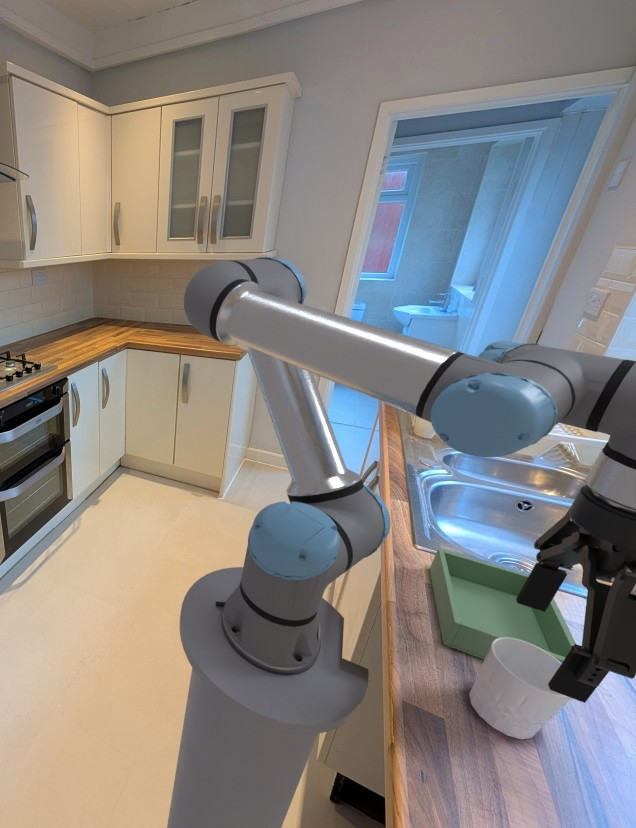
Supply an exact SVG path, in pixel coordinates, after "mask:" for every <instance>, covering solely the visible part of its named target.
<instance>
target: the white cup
mask: <svg viewBox="0 0 636 828" xmlns="http://www.w3.org/2000/svg"><path fill="white" fill-rule="evenodd" d="M482 660H483V661H482V662H481V664H480V667H479V670H478V671H477V674H476V677H475V681H474V683H473V685H472V687H471V690H470V692H469V693H468V696H469V701H470V704H471V707H472V708H473V709H474V710H475V712H476V713H477V714H478V716H479V717H480V718H481V719H483V721H485V722H486V724H487V725H489V726H491V728H493V729H495V730H496V731H498V732H500V733H501V734H504V735H505V736H506V737H507V736H508V737H511V738H514V739H519V740H527V739H531V738H533V737H534V736H535V735H536V734H537V733H538V732H539V730H541V728H543V727H545V726H546V725H547V724H548V723H549V722H551V720H552V719H553V718H555V716H556V715H557V714H558V713H559V712H560V711H561V710H562V709H563V708H564V706H565V705H566V704H567V703H568V702H569V701H570V700H571V699H572V698H571V697H568V696H565V695H563V694H560V693H557V692H555V691H552V690H550V688H549V685H548V683H549V682H550V680H551V679H552V677H553V676H554V674H555V673H556V671H557V670H558V668H559V667H560V665H561V664H562V663H561V662H560V661H559V660H557V659H556V658H555V657H553V656H552V655H551V654H549V653H548V652H546V651H544V650H543V649H541V648H539V647H537V646H535V645H533V644H531V643H528V642H526V641H523V640H520V639H516V638H511V637H500V638H497V639H495V640H494V641H493V642H492V644H491V646H490V648H489V650H488V652H487V654H486V656H485V658H484V659H482Z"/></svg>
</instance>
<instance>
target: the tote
mask: <svg viewBox="0 0 636 828" xmlns="http://www.w3.org/2000/svg"><path fill="white" fill-rule="evenodd" d="M428 570H429V574H430V580H431V585H432V586H431V587H432V589H433V596H434V602H435V608H436V611H437V612H436V613H437V618H438V623H439V630H440V635H441V640H442V644H443V646H446V647H449V648H452V649H454V650H457V651H460V652H462V653H465V654H468V655H470V656H473V657H476V658H478V659H481V660H484V658H485V656H486V654H487V652H488V650H489V648H490V646H491V644H492V642H493V641H494V640H495V639H497V638H500V637H511V638H516V639H520V640H523V641H526V642H528V643H531V644H533V645H535V646H537V647H539V648H541V649H543V650H544V651H546V652H548V653H549V654H551V655H552V656H553V657H555V658H556V659H557V660H559V661H560V662H561V663H562V662H563V661H564V659H565V658H566V656H567V655H568V653H569V652H570V650H571V646H574V645H575V644H577V642H576V640H575V638H574V636H573V634H572V633H571V632H572V631H571V630H570V628H569V626H568V624H567V623H566V622H567V621H566V620H565V618H564V616H563V614H562V612H561V610H560V608H559V606H558V605H557V602H556V600H555V597H554V598H553V599H552V601H551V603H550V604H549V606H548V608H547V609H546V611H545V612H544V611H540V610H537V609H534V608H531V607H528V606H525V605H521V604H518V603H517V601H516V598H517V597H518V595H519V593H520V591H521V589H522V588H523V586H524V584H525V582H526V580H527V579H528V577H529V575H530V574H527V573H524V572H521V571H517V570H514V569H511V568H506V567H503V566H501V565H497V564H494V563H491V562H487V561H483V560H480V559H476V558H472V557H469V556H466V555H463V554H459V553H456V552H452V551H448V550H445V549H442V548H437V551H436V553H435V555H434V557H433V559H432V562H431V563H430V566H429V569H428Z"/></svg>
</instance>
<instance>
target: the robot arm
mask: <svg viewBox="0 0 636 828" xmlns="http://www.w3.org/2000/svg"><path fill="white" fill-rule="evenodd" d="M306 298H307V284H306V281H305V278H304V276H303V274H302V272H301V271H300V270H299V268H298V267H297V266H296V265H294V264H293V263H292V262H290V261H288V260H286V259H282V258H278V257H277V258H276V257H271V256H262V257H261V256H260V257H254V258H252V259H251V258H250V259H240V260H239V259H238V260H221V261H220V260H219V261H216V262H212V263H210V264H207V265H205V266H203V267H202V268H200V269H199V270H198V271H197V272H196V273H194V275H193V276H192V277H191V279H190V280H189V281H188V284H187V285H186V287H185V291H184V296H183V310H184V313H185V316H186V318H187V320H188V322H189V323H190V325H192V326H193V328H194V329H195V330H197V331H198V332H199V333H201V334H202V335H204V336H206V337H208V338H210V339H212V340H215V341H217V342H219V343H221V344H223V345H226V346H235V347H236V348H239V349H241V350H244V351H245V352H247V354H248V358H249V360H250V363H251V366H252V368H253V372H254V374H255V377H256V380H257V383H258V385H259V386H258V387H259V390H260V392H261V394H262V398H263V401H264V403H265V406H266V408H267V412H268V415H269V418H270V421H271V424H272V426H273V430H274V433H275V435H276V439H277V441H278V444H279V446H280V450H281V452H282V455H283V458H284V461H285V464H286V467H287V469H288V473H289V475H290V478H291V481H290V483H289V484H288V486H287V488H286V490H285V491H286V496H287V498H288V501H289V503H288V502H286V501H277V502H274V503H273V502H272V503H271V504H268V505H266V506H265V507H263V508H262V509H261V510H260V511H259V512H258V513H257V514H256V515H255V518H254V519H253V522H252V525H251V527H250V530H249V532H248V536H247V546H246V551H245V557H244V561H243V566H242V567H243V572H242V577H241V582H240V584H239V585H238V587H237V588H236V589H235V590H234V592H233V593H232V594H231V595H230V597H229V598H228V599H227V601H226V602H218V601H217V602H216V606H218V607H224V608H223V613H222V628H223V631H224V634H225V636H226V638H227V640H228V642H229V643H230V645H231V646H232V647H233V649H234V650H235V651H236V652H237V653H238V654H239V655H240V656H241V657H242V658H244V659H245V660H246V661H248V662H249V663H250V664H252V665H254V666H256V667H257V668H259V669H262V670H264V671H267V672H270V673H273V674H278V675H296V674H300V673H303V672H305V671H307V670H308V669H310V668H311V667H312V666H313V665H314V663H315V662H316V660H317V657H318V654H319V651H320V647H321V638H320V630H321V629H320V622H319V625H318V619H317V612H318V609H319V606H320V603H321V600H322V598H324V597H323V596H324V594H325V591H326V589H327V588H328V586H329V585H330V584H331V583H332V582H334V581H335V580H337V579H338V578H339V577H341V576H342V575H343V574H345V573H346V572H348V571H349V570H350V569H351V568H353V567H354V566H355V565H357V564H358V563H359V562H361V561H363V560H364V559H365V558H368V557H370V556H371V555H373V554H375V553H376V552H377V551H378V549H379V548H380V547H381V546H382V544H383V543H384V542H385V541H386V540H387V538H388V536H389V533H390V531H391V515H390V512H389V509H388V507H387V504H386V503H385V502H384V500H383V498H382V497H381V496H380V495H379V494H378V493H377V492H374V491H372V488H370V487H369V486H368V485H365V484H364V482H363V479H362V476H361V475H360V474H359V473H357V472H355V471H353V470H352V469H349V468H348V467H347V466H346V463H345V460H344V457H343V454H342V452H341V448H340V446H339V443H338V441H337V437H336V435H335V432H334V429H333V426H332V424H331V421H330V417H329V416H328V413H327V410H326V407H325V404H324V402H323V399H322V396H321V393H320V390H319V387H318V384H317V382H316V379H315V377H314V375H316V376H318V377H321V378H324V379H325V380H328V381H331V382H333V383H335V384H338V385H341V386H343V387H344V388H345V387H346V388H348V389H350V390H352V391H354V392H357V393H360V394H362V395H365V396H367V397H369V398H371V399H374V400H376V401H379V402H381V403H384V404H386V405H389V406H390V407H393V408H396V409H398V410H400V411H403V412H405V413H408V414H410V415H412V416H414V417H417V418H419V419H422V420H425V421H427V422H429V423H431V426H432V429H433V431H434V433H436V435H437V436H438V437H439V438H440V439H441V441H442V442H444V443H445V445H446V446H448V447H450V448H451V449H452V450H455V451H456V452H459V453H462V454H464V455H467V456H471V457H477V458H499V457H504V456H508V455H512V454H514V453H517V452H518V451H519V452H520V451H521V450H523V449H525V448H529V447H530V446H533V445H535V444H537V443H538V442H539V441H540V440H542V439H543V438H544V437H547V436H548V435H549V434H550V433H551V432H552V430H553V429H554V428H555V426H556V425H558V424H563V425H567V426H570V427H575V428H579V429H581V430H582V429H583V430H587V431H590V432H594V433H601V434H605V435H609V438H608V441H606V443H605V444H604V447H603V448H602V449H601V450H600V452H599V454H598V455H597V457H596V459H595V461H594V462H593V464H592V466H591V468H590V470H589V472H588V473H587V475H586V477H585V478H584V481H585V484H586V485H584V486H582V487H581V488H580V490H579V491H578V493H577V495H576V496H575V498H574V500H573V502H572V504H571V506H570V507H569V509H568V510H567V511H566V513H565V515H564V516H563V517H562V518H560V519H559V520H558V521H556V522H555V524H553V525H552V526H551V527H550V528H549V529H548V530H546V531H545V532H544V533H543V534H542V535H541V536H540V537H538V538H537V539H536V540H535V541H534V543H533V547H534V549H535V550H539V551H538V552H537V553H536V555H535V560H536V561H537V562H535V564H534V566H533V568H532V569H531V572H530V573H529V574H528V575H529V577H528V579H527V580H526V582H525V584H524V586H523V588H522V589H521V591H520V593H519V595H518V597H517V598H516V601H517V603H518V604H521V605H525V606H528V607H531V608H534V609H537V610H540V611H544V612H545V611H546V609H547V608H548V606H549V604H550V603H551V601H552V599H553V598H554V599H555V596H556V594H557V593H558V591H559V590H560V588H561V586H562V584H563V583H564V581H565V579H566V578H567V576H568V573H567V572H566V570H568V571H573V568H574V567H573V566H576V565H580V566H581V569H582V575H581V576H582V577H581V584H582V586H583V587H584V588H586V590H587V593H586V604H585V612H584V621H583V629H582V639H581V645H579V644H577V643H576V644H575V645H574V646H571V650H570V652H569V653H568V655H567V656H566V658H565V659H564V661H563V662H562V664H561V665H560V667H559V668H558V670H557V671H556V673H555V674H554V676H553V677H552V679H551V680H550V682H549V683H548V685H549V688H550V690H552V691H555V692H557V693H560V694H563V695H565V696H568V697H571V699H572V700H573V699H574V700H576V701H579V702H581V703H583V704H584V703H585V704H586V703H587V702H588V700H589V699H590V697H591V696H592V695H593V693H594V692H595V690H596V689H597V688H598V687H599V686H600V684H601V683H602V682H603V680H604V679H605V678H606V676H607V675H608V674H609V672H610V673H614V674H616V675H620V676H622V677H625V678H628V679H631V680H633V679H635V677H636V360H633V359H632V360H631V359H625V358H624V359H623V358H618V357H612V356H611V357H610V356H606V355H599V354H594V353H589V352H588V353H587V352H581V351H575V350H570V349H564V348H558V347H551V346H545V345H540V344H539V343H537V342H536V343H535V342H526V343H525V342H524V343H523V342H517V341H510V340H509V341H507V340H498V341H494V342H491V343H490V344H488V345H487V346H486V347H485V348H484V349H483V351H482V352H480V353H479V354H478V356H476V355H472V354H468V353H464V352H461V351H460V350H457V349H453V348H450V347H447V346H444V345H440V344H437V343H433V342H430V341H426V340H423V339H420V338H416V337H413V336H410V335H406V334H404V333H399V332H396V331H393V330H389V329H387V328H383V327H380V326H376V325H372V324H369V323H367V322H362V321H359V320H356V319H353V318H350V317H346V316H343V315H339V314H336V313H333V312H330V311H326V310H322V309H319V308H316V307H313V306H309V305H307V304H304V301H305V299H306ZM560 568H562V569H560ZM565 569H566V570H565ZM603 582H605V583H603ZM606 583H609V584H606ZM610 584H611V585H610Z"/></svg>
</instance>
